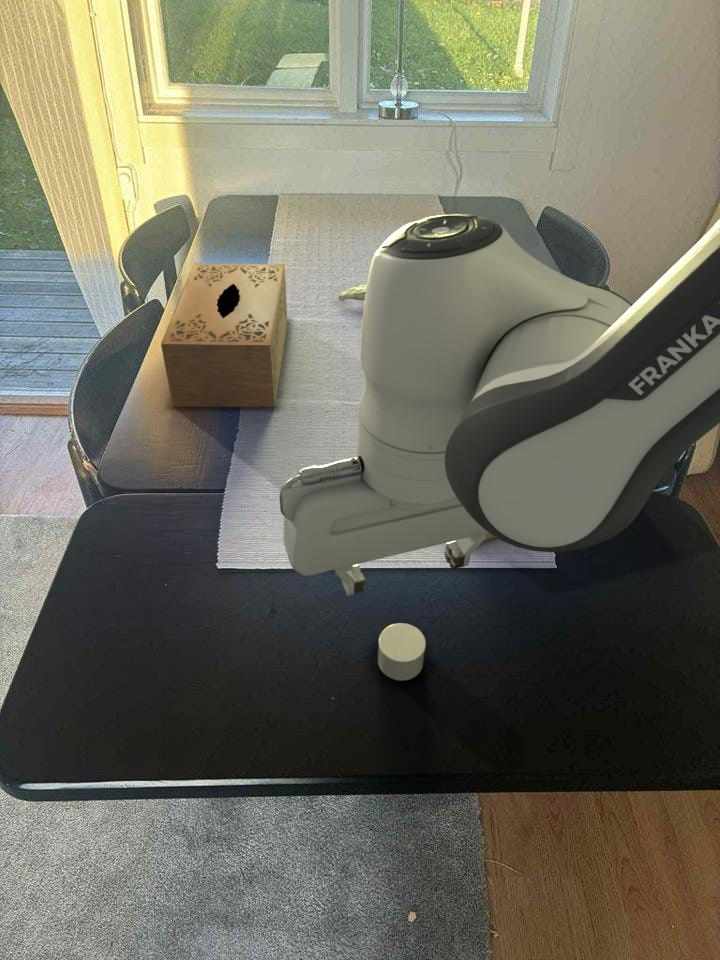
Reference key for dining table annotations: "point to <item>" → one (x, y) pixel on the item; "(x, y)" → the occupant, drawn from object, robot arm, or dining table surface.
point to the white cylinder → (401, 651)
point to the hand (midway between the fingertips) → (405, 575)
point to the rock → (354, 293)
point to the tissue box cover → (227, 336)
